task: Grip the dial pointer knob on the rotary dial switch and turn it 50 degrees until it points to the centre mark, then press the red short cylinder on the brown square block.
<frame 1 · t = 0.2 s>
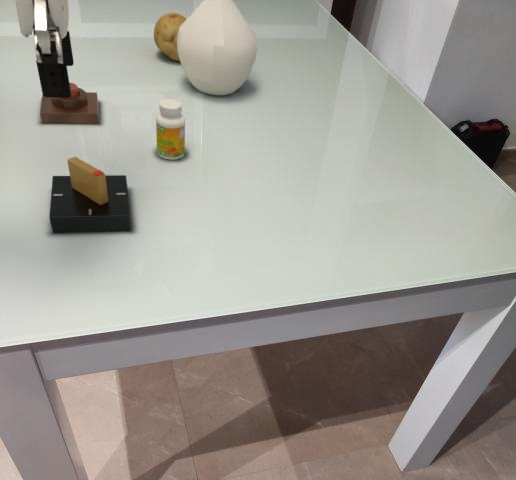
hand: (59, 79, 65), 23 cm above the table, tool pointing down, fingers open, 9 cm apart
dial pointer knob: (87, 180, 81), point 6 cm above the table, hinge at -50.0°
potato: (174, 58, 134), on the table
vase: (215, 88, 125), on the table
brown square block: (71, 112, 108), on the table
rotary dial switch: (92, 210, 86), on the table
supplement bottle: (170, 154, 101), on the table
red short cylinder: (67, 90, 104), point 4 cm above the table, slide at 0.1 cm
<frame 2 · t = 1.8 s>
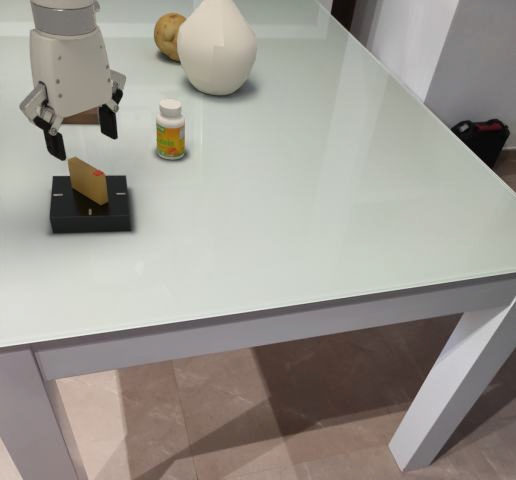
hand: (84, 146, 77), 11 cm above the table, tool pointing down, fingers open, 9 cm apart
nothing on the table moved.
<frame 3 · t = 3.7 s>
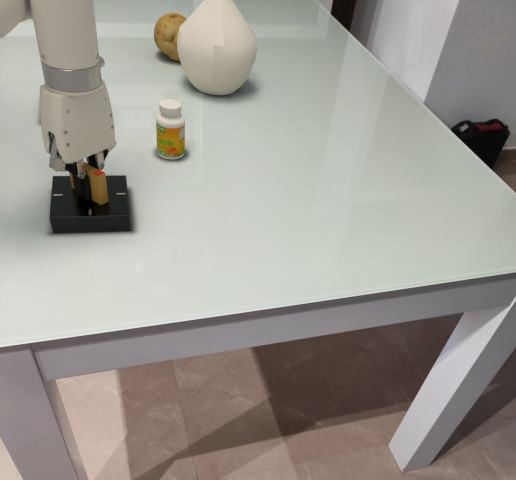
hand: (89, 192, 83), 3 cm above the table, tool pointing down, fingers closed on dial pointer knob
dial pointer knob: (87, 180, 81), point 6 cm above the table, hinge at -48.9°, touching gripper
everything else where it was.
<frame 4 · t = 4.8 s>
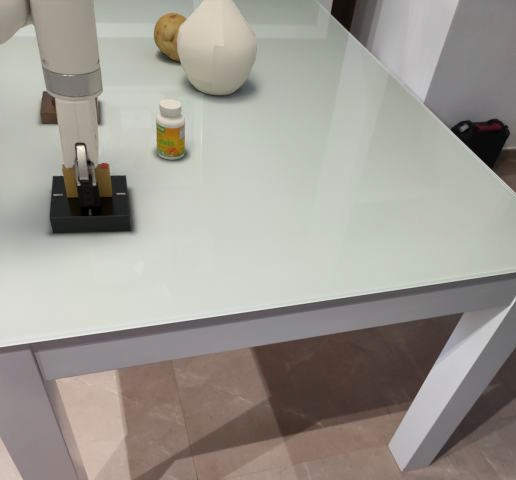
hand: (90, 193, 83), 3 cm above the table, tool pointing down, fingers open, 5 cm apart
dial pointer knob: (87, 180, 81), point 6 cm above the table, hinge at 0.1°
everything else where it was.
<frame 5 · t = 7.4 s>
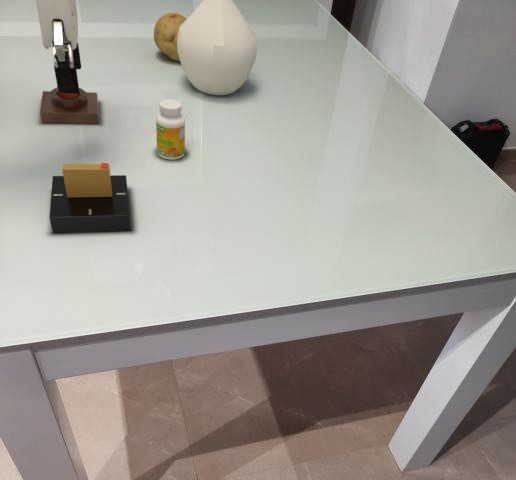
hand: (70, 80, 86), 14 cm above the table, tool pointing down, fingers open, 9 cm apart
nothing on the table moved.
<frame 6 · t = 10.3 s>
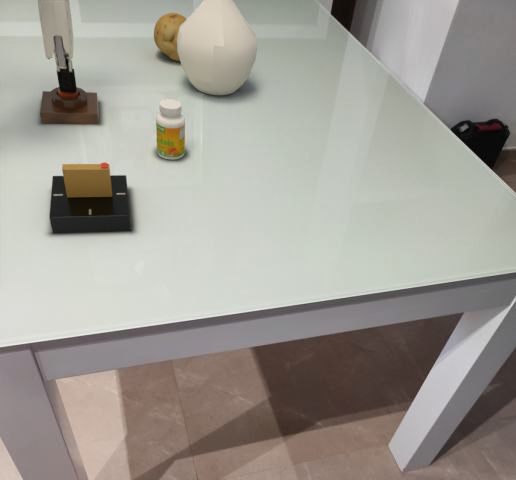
hand: (68, 90, 104), 5 cm above the table, tool pointing down, fingers closed
red short cylinder: (68, 95, 105), point 4 cm above the table, slide at -0.8 cm, touching gripper
everything else where it was.
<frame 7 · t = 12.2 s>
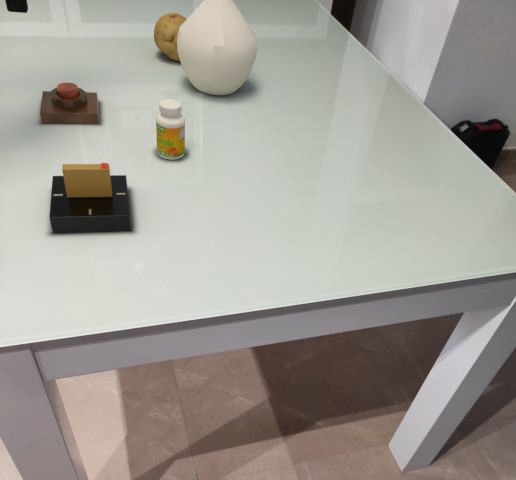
hand: (18, 10, 87), 20 cm above the table, tool pointing down, fingers closed
red short cylinder: (67, 90, 104), point 4 cm above the table, slide at 0.1 cm
everything else where it was.
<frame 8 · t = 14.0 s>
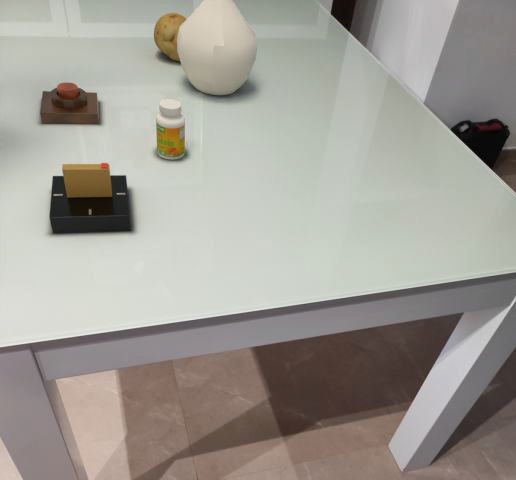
nothing on the table moved.
at the end: dial pointer knob at +0° (first picture: -50°); red short cylinder pushed in 1.1 cm at the most during the clip, back to where it started at the end; red short cylinder slide at 0.1 cm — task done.
